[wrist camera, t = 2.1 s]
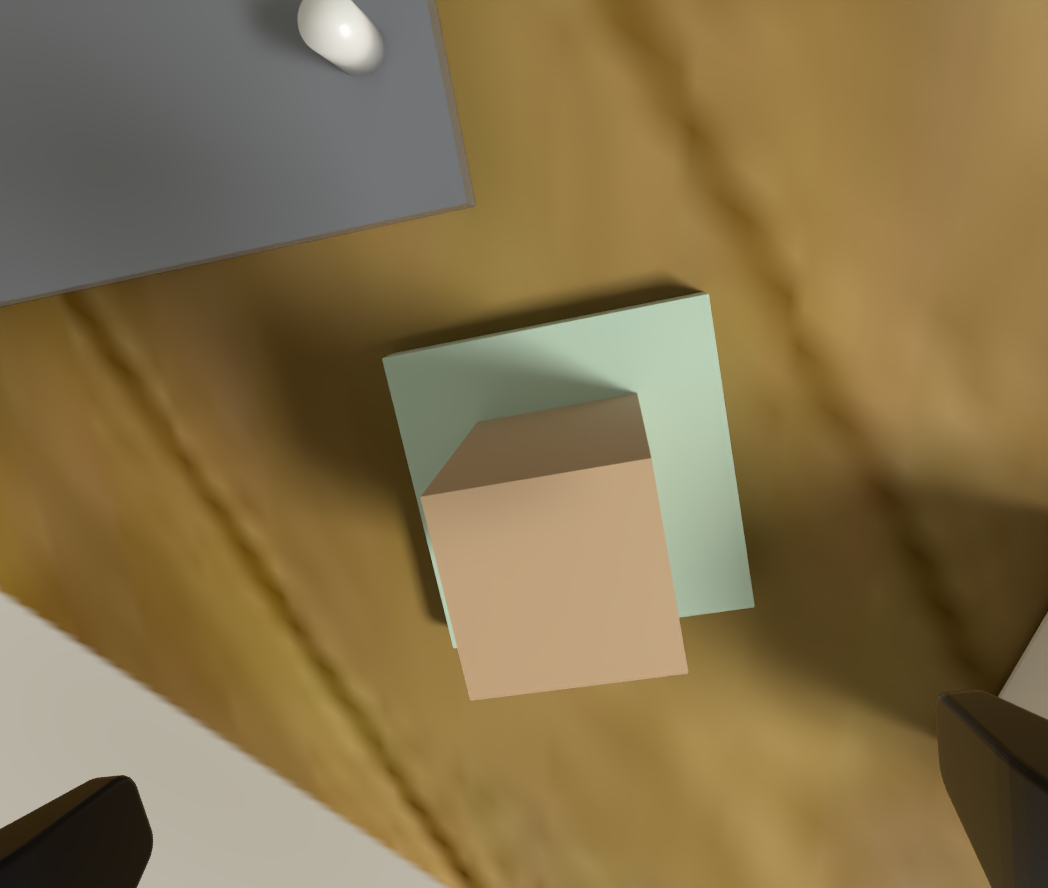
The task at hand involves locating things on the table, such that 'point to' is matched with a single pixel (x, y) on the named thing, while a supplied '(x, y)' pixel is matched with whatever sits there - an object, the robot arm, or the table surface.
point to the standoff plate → (213, 132)
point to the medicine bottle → (1031, 675)
